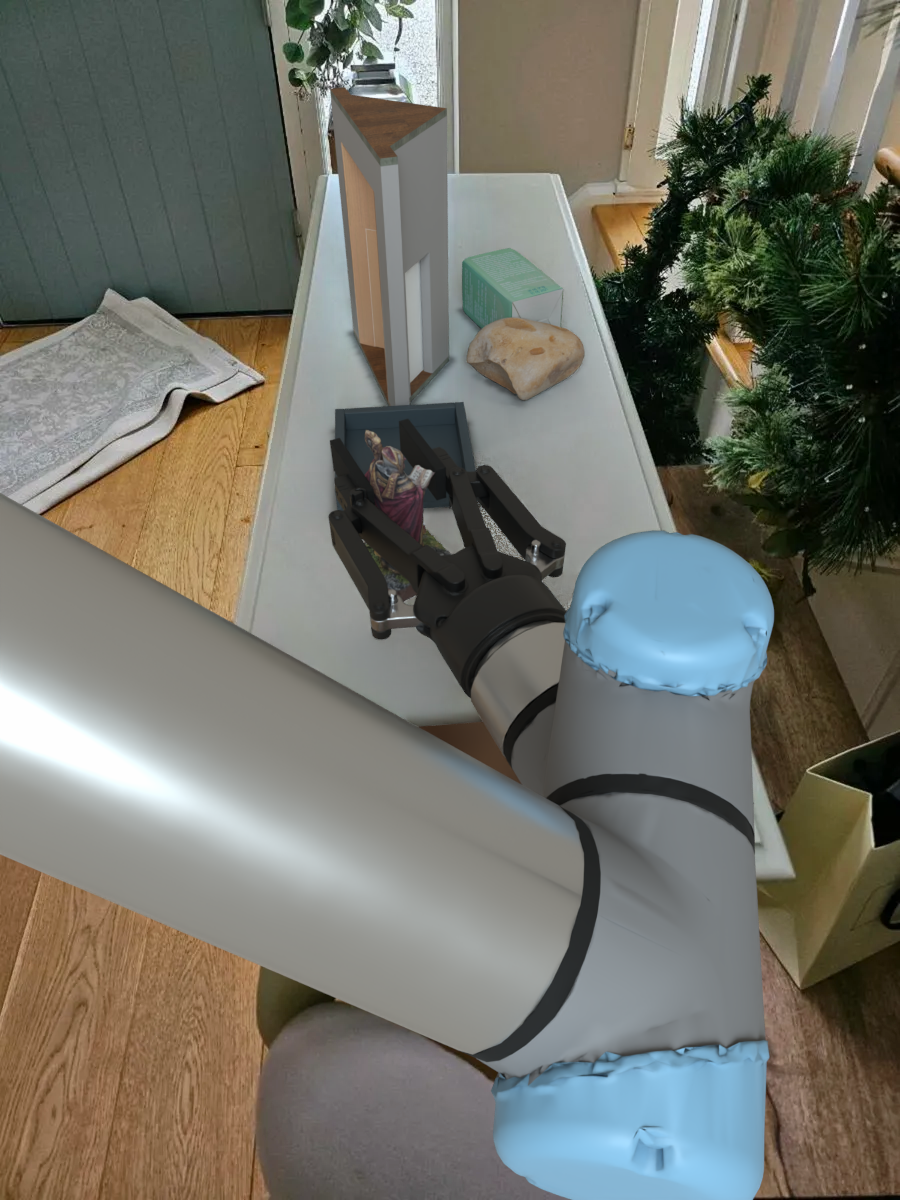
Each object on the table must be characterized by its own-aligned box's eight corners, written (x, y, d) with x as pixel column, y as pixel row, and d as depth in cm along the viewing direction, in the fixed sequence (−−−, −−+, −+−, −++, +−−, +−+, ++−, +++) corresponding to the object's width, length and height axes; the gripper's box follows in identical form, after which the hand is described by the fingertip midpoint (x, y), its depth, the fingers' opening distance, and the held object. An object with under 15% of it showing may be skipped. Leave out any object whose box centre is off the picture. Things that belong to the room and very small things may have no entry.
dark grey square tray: (337, 514, 85) (334, 490, 83) (337, 431, 95) (335, 408, 93) (477, 505, 86) (478, 481, 84) (463, 424, 96) (463, 401, 94)
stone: (578, 333, 105) (593, 307, 97) (574, 418, 104) (589, 399, 96) (467, 324, 104) (473, 297, 96) (462, 410, 103) (467, 390, 95)
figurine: (391, 609, 62) (377, 481, 54) (347, 557, 66) (327, 430, 57) (463, 573, 65) (461, 445, 56) (417, 524, 68) (409, 397, 60)
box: (508, 297, 116) (511, 243, 110) (561, 344, 108) (566, 288, 102) (460, 310, 114) (460, 255, 108) (509, 359, 105) (512, 302, 100)
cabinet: (353, 334, 110) (329, 88, 89) (425, 322, 112) (418, 79, 91) (396, 424, 96) (380, 158, 76) (478, 409, 98) (483, 145, 78)
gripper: (384, 759, 49) (263, 517, 63) (644, 654, 54) (476, 453, 69) (375, 677, 43) (245, 433, 58) (665, 569, 49) (478, 370, 63)
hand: (371, 444), depth 63 cm, fingers closed on figurine, 5 cm apart
